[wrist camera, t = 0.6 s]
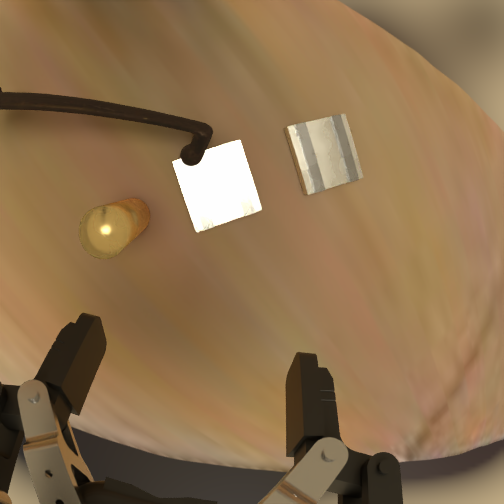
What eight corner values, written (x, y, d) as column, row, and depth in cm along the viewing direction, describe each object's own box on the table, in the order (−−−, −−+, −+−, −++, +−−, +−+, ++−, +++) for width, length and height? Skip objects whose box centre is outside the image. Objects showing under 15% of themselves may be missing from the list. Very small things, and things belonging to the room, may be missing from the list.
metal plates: (173, 162, 32) (172, 161, 31) (339, 115, 34) (346, 113, 33) (196, 230, 35) (196, 233, 33) (357, 177, 37) (364, 177, 35)
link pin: (111, 205, 32) (71, 218, 21) (143, 193, 33) (116, 198, 21) (123, 238, 33) (90, 266, 22) (155, 226, 34) (134, 248, 22)
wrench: (197, 149, 34) (-36, 117, 20) (214, 113, 30) (-39, 80, 17) (199, 180, 31) (-57, 145, 18) (217, 142, 27) (-64, 106, 14)
